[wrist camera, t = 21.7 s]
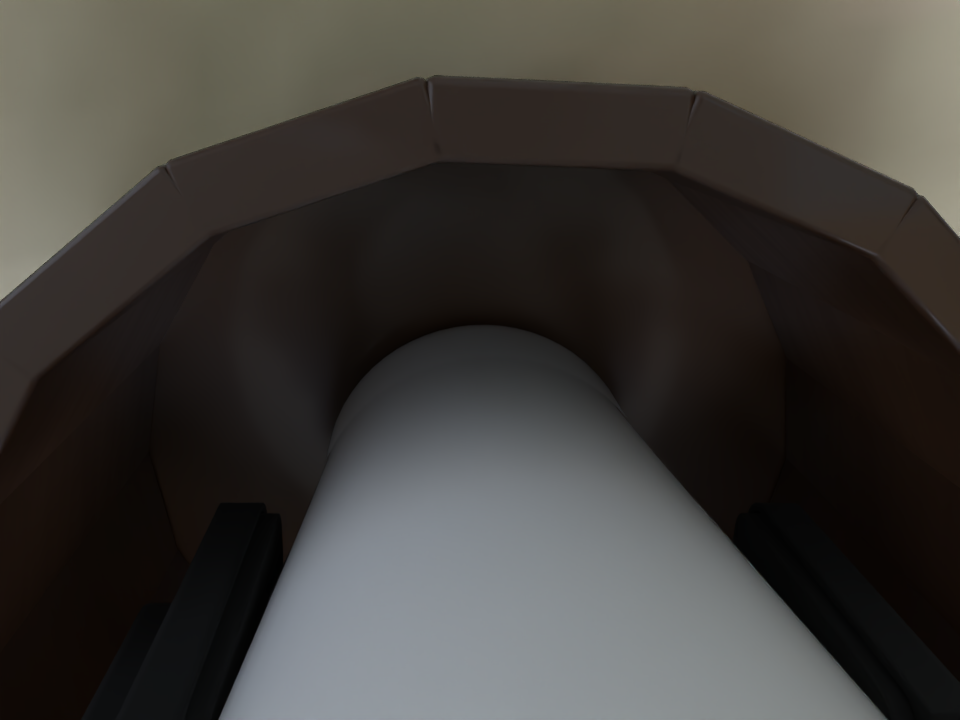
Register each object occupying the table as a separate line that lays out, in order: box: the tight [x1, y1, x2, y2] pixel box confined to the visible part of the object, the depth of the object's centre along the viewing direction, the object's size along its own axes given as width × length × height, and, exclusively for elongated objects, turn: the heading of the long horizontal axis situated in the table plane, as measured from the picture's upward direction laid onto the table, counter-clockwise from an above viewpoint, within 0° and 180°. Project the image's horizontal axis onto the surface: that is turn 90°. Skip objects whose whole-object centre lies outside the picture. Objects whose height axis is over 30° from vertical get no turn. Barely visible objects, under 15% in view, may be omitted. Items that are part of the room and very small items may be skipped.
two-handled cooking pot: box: [0, 75, 960, 720], centre depth 12 cm, size 13×18×7 cm
